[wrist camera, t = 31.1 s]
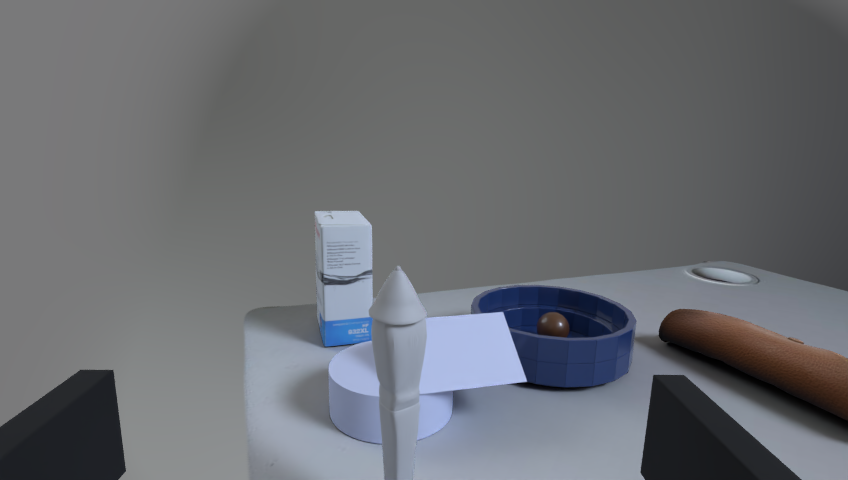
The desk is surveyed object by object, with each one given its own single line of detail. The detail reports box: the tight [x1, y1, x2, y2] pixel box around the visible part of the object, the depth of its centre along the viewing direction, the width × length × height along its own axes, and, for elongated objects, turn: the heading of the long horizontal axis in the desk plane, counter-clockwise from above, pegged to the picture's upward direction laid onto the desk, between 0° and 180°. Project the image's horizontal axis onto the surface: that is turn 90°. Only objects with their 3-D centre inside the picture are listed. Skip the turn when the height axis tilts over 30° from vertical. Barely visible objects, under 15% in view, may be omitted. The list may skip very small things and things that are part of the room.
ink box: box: [315, 211, 373, 347], centre depth 49 cm, size 8×5×12 cm, turn 16°
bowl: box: [471, 285, 636, 387], centre depth 45 cm, size 14×14×4 cm
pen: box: [369, 266, 427, 480], centre depth 23 cm, size 2×3×14 cm
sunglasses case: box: [659, 309, 848, 421], centre depth 41 cm, size 18×7×7 cm
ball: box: [537, 312, 569, 338], centre depth 46 cm, size 3×3×3 cm
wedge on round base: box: [328, 312, 527, 444], centre depth 36 cm, size 9×7×13 cm
